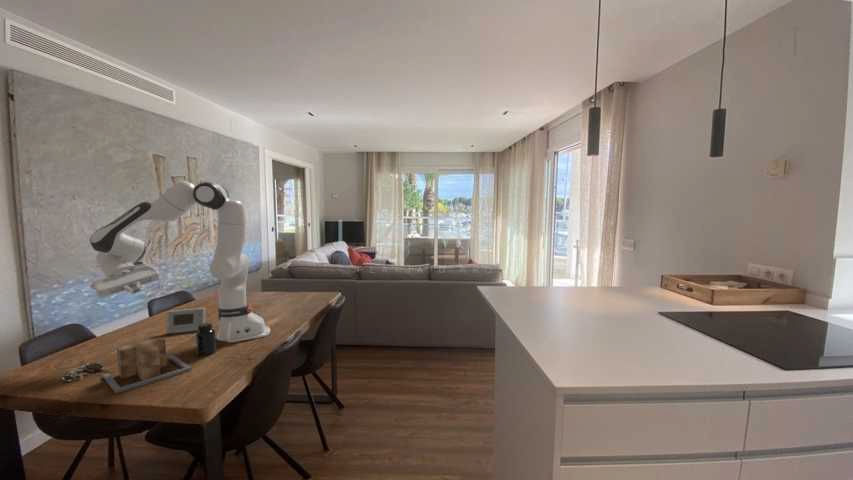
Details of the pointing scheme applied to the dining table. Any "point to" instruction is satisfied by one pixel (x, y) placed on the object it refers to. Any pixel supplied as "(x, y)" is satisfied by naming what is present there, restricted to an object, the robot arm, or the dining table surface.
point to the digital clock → (185, 320)
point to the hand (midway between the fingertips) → (136, 291)
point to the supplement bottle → (205, 339)
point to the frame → (118, 389)
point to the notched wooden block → (142, 359)
